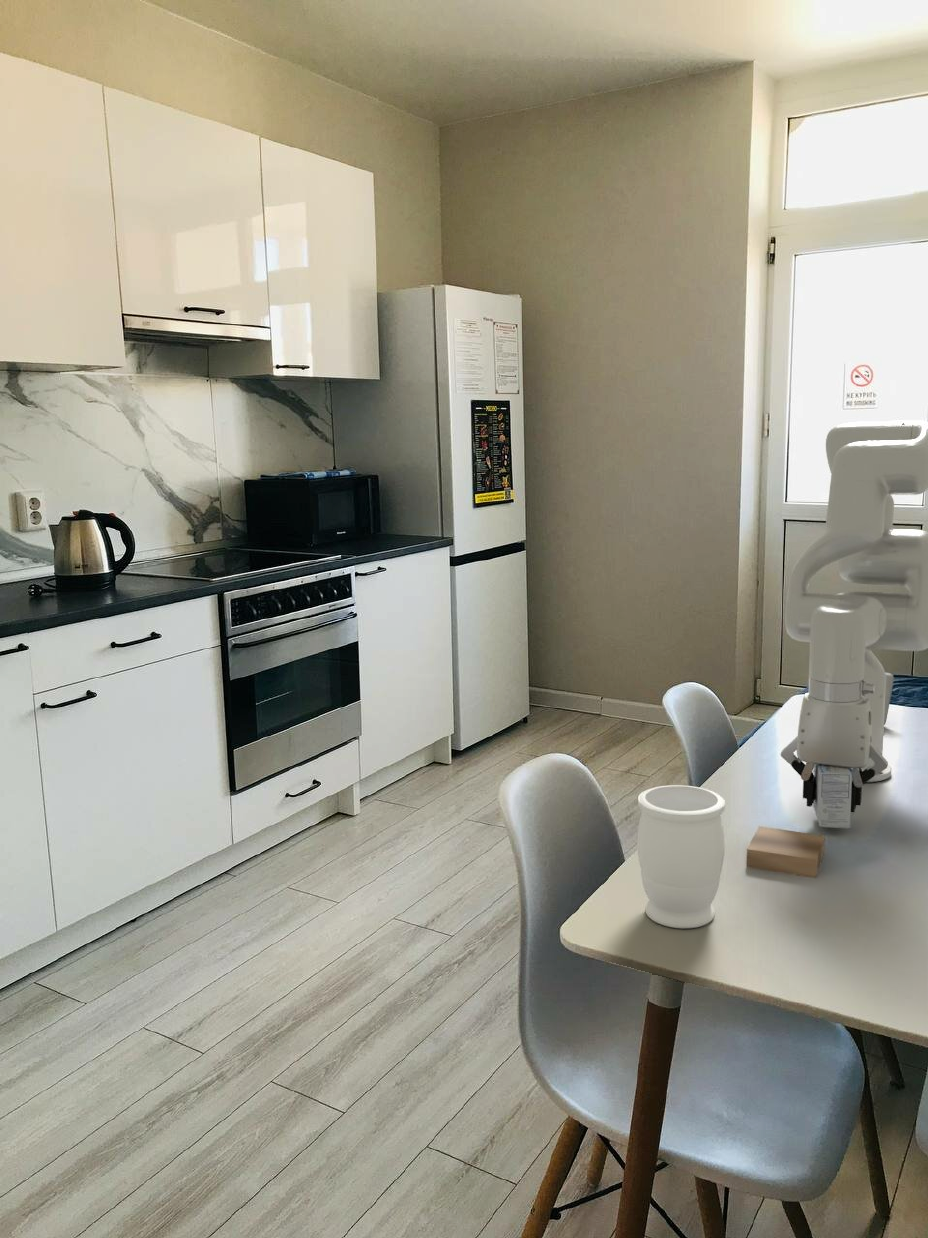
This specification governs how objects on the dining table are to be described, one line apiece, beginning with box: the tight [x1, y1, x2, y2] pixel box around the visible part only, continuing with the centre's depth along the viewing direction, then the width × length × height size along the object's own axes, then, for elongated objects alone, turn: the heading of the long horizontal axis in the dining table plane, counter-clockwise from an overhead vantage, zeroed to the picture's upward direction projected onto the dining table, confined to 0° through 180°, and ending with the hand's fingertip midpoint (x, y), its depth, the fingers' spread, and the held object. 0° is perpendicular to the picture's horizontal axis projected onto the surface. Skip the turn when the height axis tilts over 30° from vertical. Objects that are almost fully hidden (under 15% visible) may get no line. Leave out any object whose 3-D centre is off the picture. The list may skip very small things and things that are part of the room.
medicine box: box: [812, 764, 852, 829], centre depth 150 cm, size 8×4×9 cm, turn 167°
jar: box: [637, 784, 726, 929], centre depth 123 cm, size 11×10×15 cm
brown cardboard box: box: [746, 825, 826, 879], centre depth 139 cm, size 9×9×3 cm
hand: (831, 805), depth 151 cm, fingers closed on medicine box, 5 cm apart
